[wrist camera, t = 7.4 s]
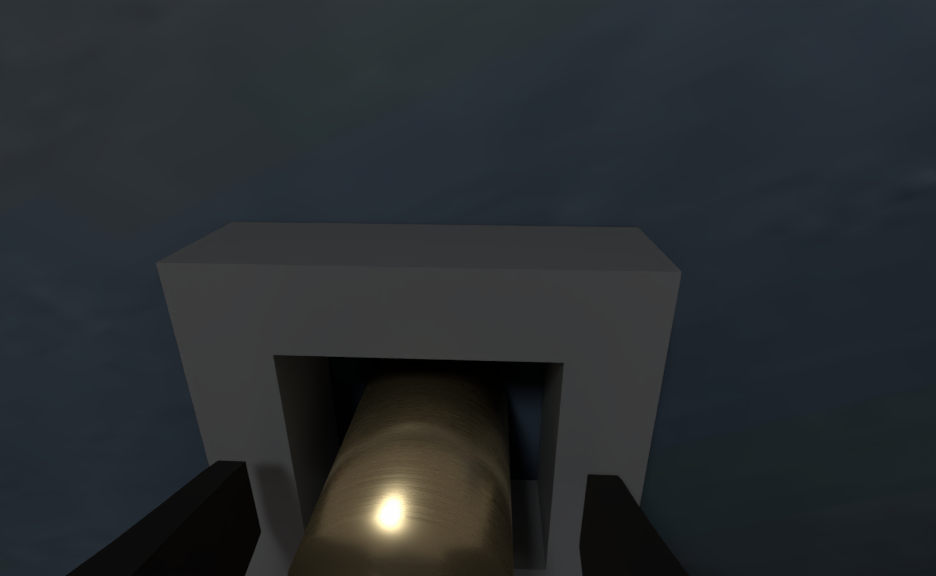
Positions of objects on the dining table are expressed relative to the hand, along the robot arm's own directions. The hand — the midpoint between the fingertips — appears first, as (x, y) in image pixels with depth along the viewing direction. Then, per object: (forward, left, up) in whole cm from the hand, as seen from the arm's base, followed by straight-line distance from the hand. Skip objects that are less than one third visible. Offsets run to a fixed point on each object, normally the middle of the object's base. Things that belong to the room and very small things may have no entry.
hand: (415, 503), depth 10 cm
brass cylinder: (0, 0, -4) cm, 4 cm away
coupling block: (0, 0, -4) cm, 4 cm away
